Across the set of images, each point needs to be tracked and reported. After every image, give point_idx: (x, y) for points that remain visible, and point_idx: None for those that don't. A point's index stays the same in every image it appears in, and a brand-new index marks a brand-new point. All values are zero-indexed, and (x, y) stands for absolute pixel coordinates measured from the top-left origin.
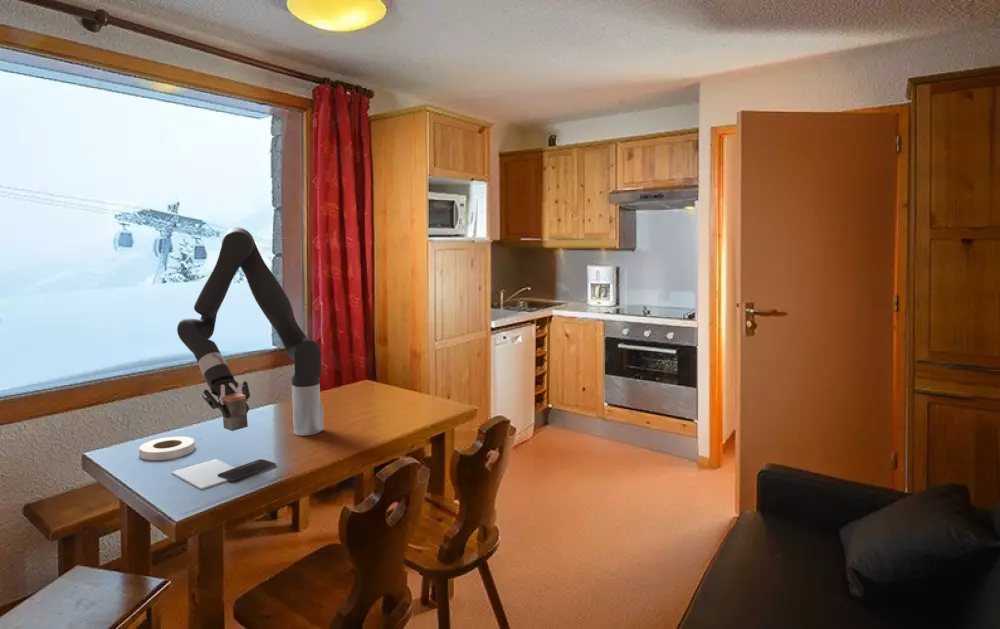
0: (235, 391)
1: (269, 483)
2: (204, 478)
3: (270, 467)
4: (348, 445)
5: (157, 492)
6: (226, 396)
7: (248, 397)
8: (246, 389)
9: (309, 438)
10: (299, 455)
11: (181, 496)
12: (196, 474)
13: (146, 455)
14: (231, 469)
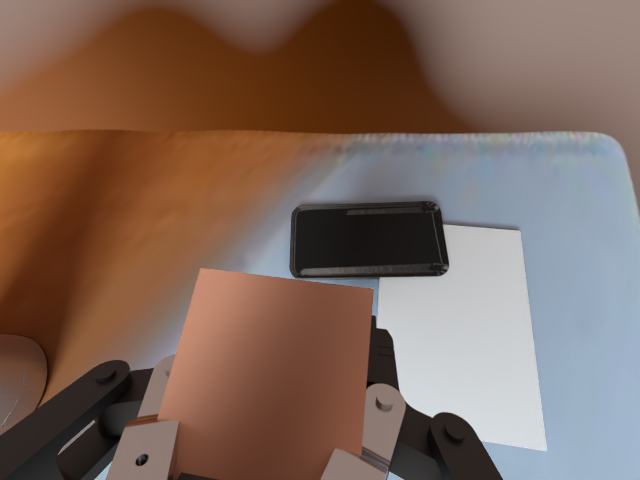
0: (166, 459)
1: (378, 140)
2: (484, 285)
3: (316, 206)
4: (92, 179)
5: (626, 321)
6: (331, 419)
7: (123, 366)
8: (15, 449)
9: (65, 321)
10: (205, 225)
11: (574, 237)
12: (488, 339)
13: None
14: (396, 275)
